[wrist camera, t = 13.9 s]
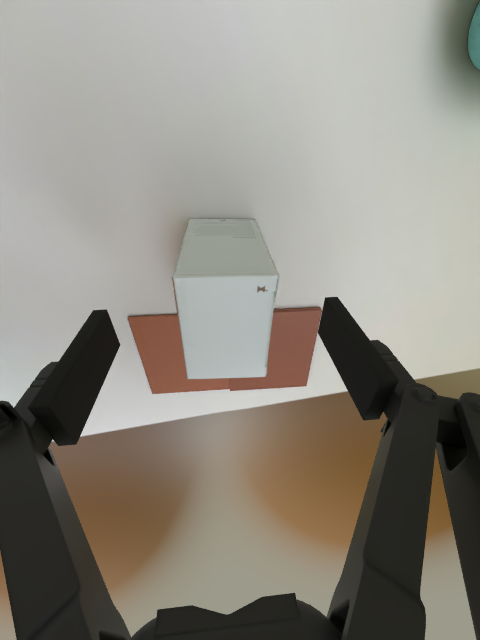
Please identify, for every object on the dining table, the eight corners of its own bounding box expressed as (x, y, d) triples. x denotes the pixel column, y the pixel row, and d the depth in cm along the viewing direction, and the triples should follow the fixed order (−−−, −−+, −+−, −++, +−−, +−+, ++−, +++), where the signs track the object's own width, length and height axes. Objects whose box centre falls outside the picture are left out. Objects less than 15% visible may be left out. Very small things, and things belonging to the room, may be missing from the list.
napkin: (152, 392, 33) (151, 395, 33) (128, 316, 26) (126, 319, 26) (305, 382, 34) (306, 386, 34) (320, 307, 27) (322, 310, 27)
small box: (188, 216, 21) (169, 272, 13) (256, 217, 22) (281, 272, 13) (195, 300, 26) (184, 382, 17) (251, 299, 26) (267, 379, 18)
